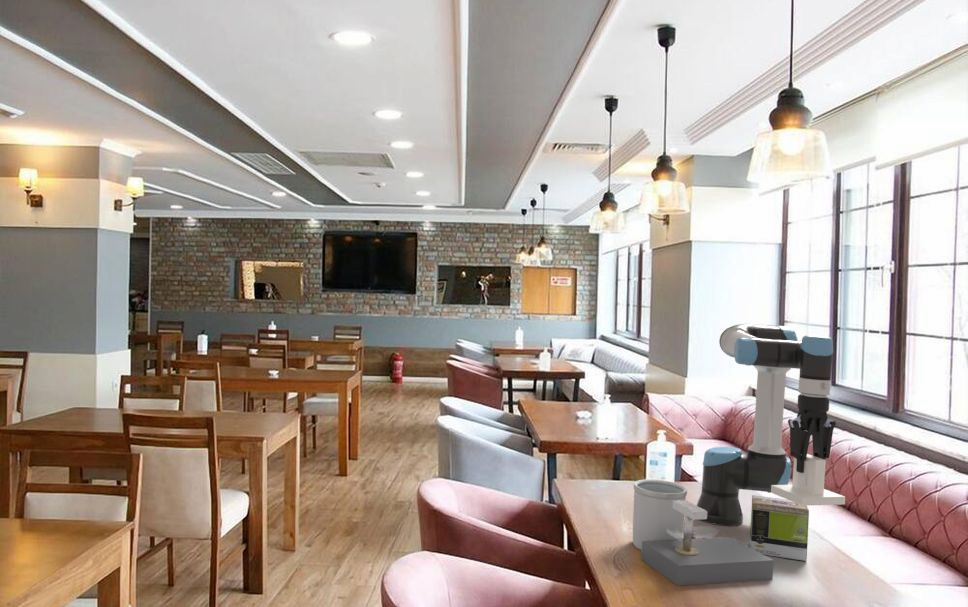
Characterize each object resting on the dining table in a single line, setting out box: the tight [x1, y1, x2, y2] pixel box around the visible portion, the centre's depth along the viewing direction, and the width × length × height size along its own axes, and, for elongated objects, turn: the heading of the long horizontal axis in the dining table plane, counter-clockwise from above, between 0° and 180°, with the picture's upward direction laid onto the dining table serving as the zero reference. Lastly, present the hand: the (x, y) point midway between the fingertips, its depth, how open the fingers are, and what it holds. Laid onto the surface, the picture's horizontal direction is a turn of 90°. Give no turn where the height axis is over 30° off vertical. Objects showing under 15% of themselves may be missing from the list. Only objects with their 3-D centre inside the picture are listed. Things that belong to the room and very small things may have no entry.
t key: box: [666, 499, 707, 551], centre depth 194 cm, size 14×4×12 cm, turn 17°
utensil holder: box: [632, 478, 688, 551], centre depth 211 cm, size 15×15×18 cm
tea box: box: [749, 495, 810, 562], centre depth 212 cm, size 15×10×15 cm, turn 71°
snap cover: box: [771, 453, 846, 507], centre depth 192 cm, size 13×12×11 cm
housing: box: [640, 536, 774, 587], centre depth 195 cm, size 28×18×5 cm, turn 107°
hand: (807, 484), depth 192 cm, fingers closed on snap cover, 3 cm apart
